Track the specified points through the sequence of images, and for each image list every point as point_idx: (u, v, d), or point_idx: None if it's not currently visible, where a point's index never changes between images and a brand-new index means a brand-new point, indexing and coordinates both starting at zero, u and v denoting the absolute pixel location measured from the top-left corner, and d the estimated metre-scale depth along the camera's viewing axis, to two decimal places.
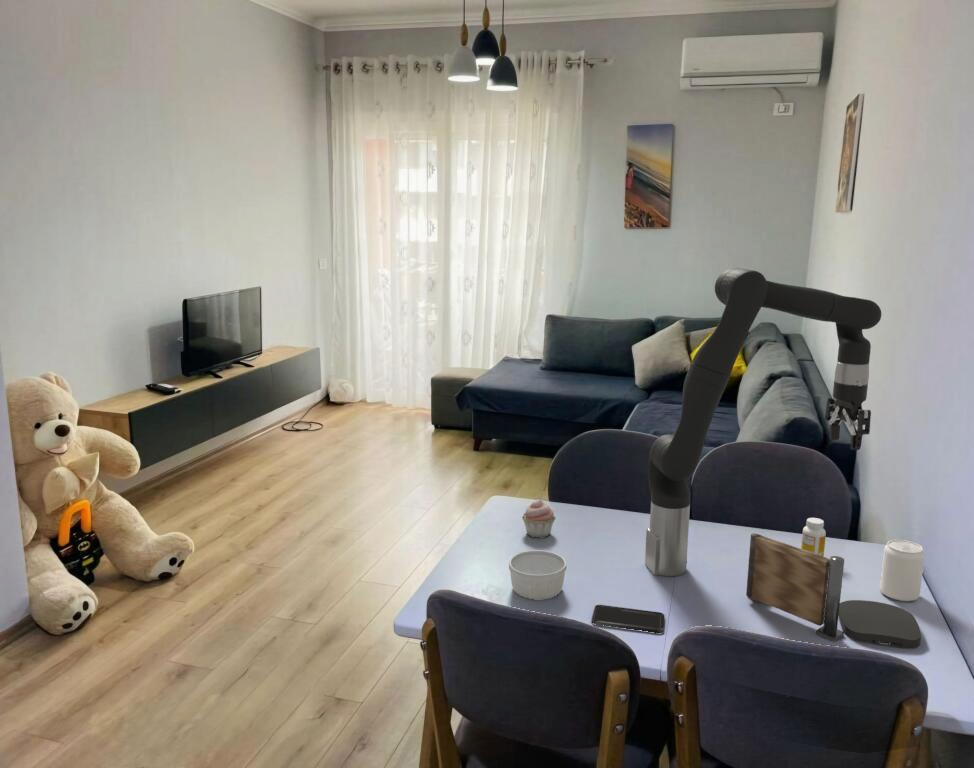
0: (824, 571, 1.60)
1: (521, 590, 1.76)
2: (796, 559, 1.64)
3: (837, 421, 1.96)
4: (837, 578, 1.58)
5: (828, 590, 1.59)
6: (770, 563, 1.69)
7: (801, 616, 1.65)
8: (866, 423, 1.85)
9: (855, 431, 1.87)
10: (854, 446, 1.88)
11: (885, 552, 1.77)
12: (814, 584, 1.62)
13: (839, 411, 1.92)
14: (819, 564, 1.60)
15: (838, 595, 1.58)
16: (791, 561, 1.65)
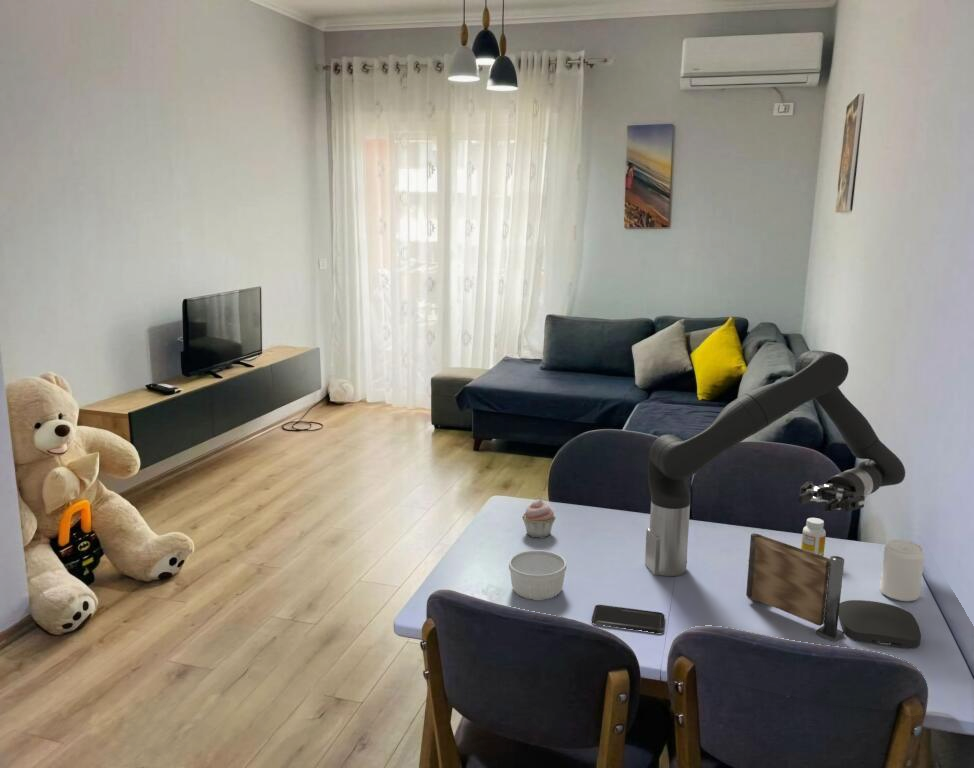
0: (824, 571, 1.60)
1: (521, 590, 1.76)
2: (796, 559, 1.64)
3: (811, 497, 1.79)
4: (837, 578, 1.58)
5: (828, 590, 1.59)
6: (770, 563, 1.69)
7: (801, 616, 1.65)
8: (855, 505, 1.73)
9: (841, 499, 1.74)
10: (831, 504, 1.71)
11: (885, 552, 1.77)
12: (814, 584, 1.62)
13: (830, 487, 1.80)
14: (819, 564, 1.60)
15: (838, 595, 1.58)
16: (791, 561, 1.65)
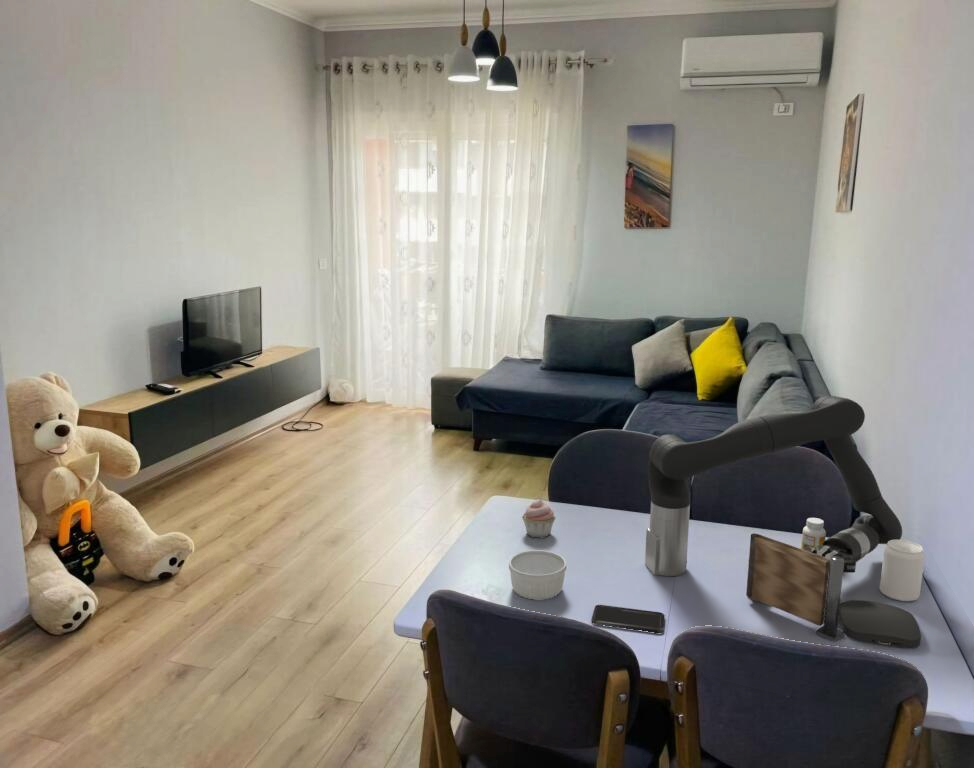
0: (824, 571, 1.60)
1: (521, 590, 1.76)
2: (796, 559, 1.64)
3: None
4: (837, 578, 1.58)
5: (828, 590, 1.59)
6: (770, 563, 1.69)
7: (801, 616, 1.65)
8: None
9: None
10: None
11: (885, 552, 1.77)
12: (814, 584, 1.62)
13: (828, 549, 1.79)
14: (819, 564, 1.60)
15: (838, 595, 1.58)
16: (791, 561, 1.65)
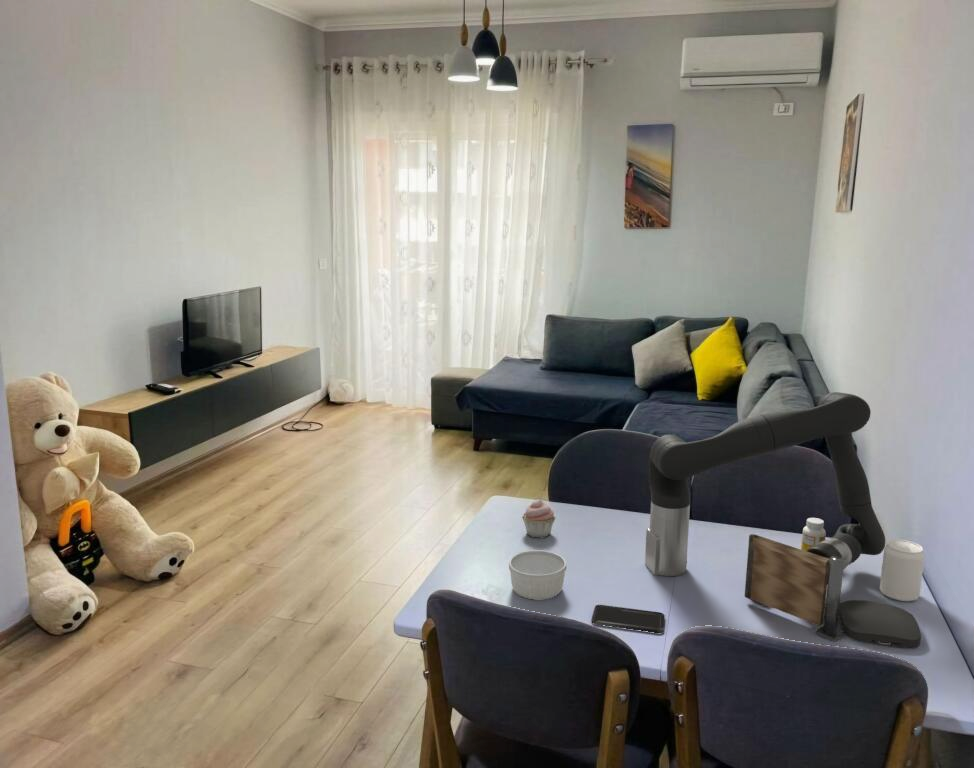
0: (824, 571, 1.60)
1: (521, 590, 1.76)
2: (795, 559, 1.64)
3: None
4: (837, 578, 1.58)
5: (828, 590, 1.59)
6: (769, 564, 1.69)
7: (801, 617, 1.65)
8: None
9: None
10: None
11: (885, 552, 1.77)
12: (814, 584, 1.62)
13: None
14: (819, 564, 1.60)
15: (838, 595, 1.58)
16: (791, 562, 1.65)
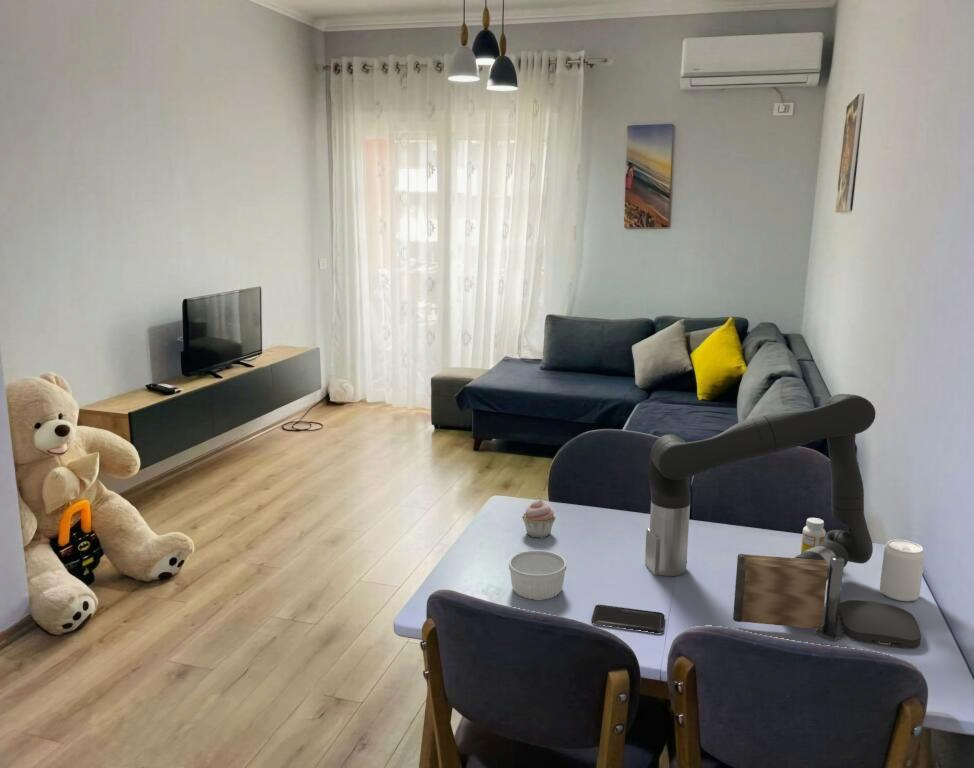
0: (826, 574, 1.58)
1: (521, 590, 1.76)
2: (794, 570, 1.59)
3: None
4: (837, 578, 1.58)
5: (828, 590, 1.59)
6: (763, 581, 1.61)
7: (801, 625, 1.62)
8: None
9: None
10: None
11: (885, 552, 1.77)
12: (815, 590, 1.59)
13: None
14: (821, 569, 1.58)
15: (838, 595, 1.58)
16: (789, 573, 1.60)
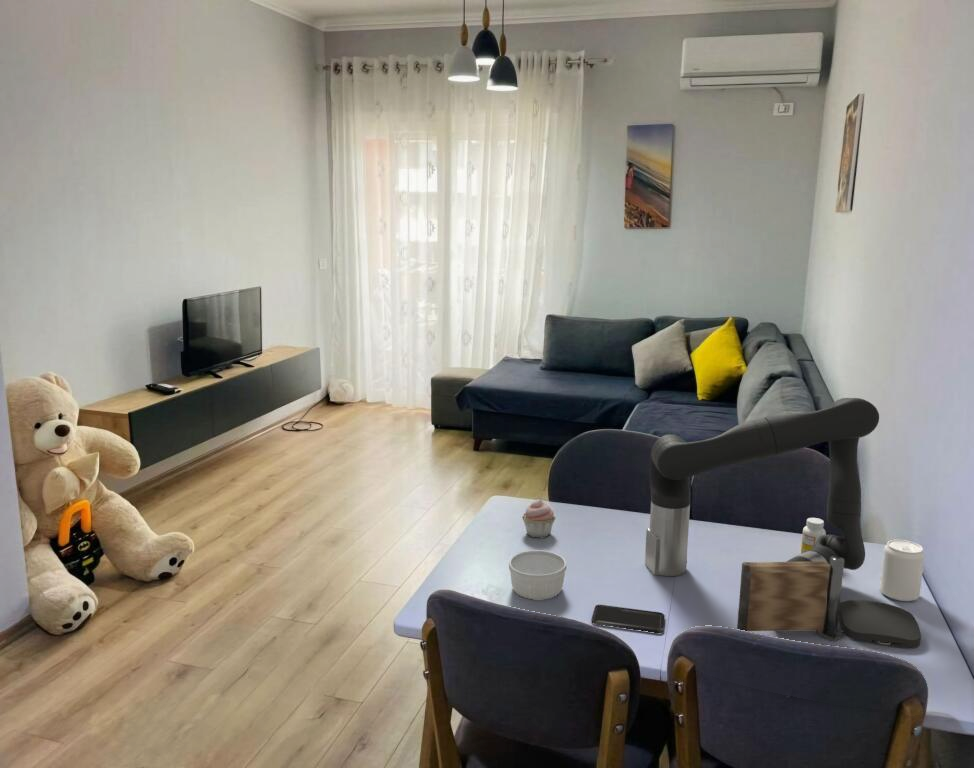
0: (828, 575, 1.58)
1: (521, 590, 1.76)
2: (797, 573, 1.58)
3: None
4: (837, 578, 1.58)
5: (828, 590, 1.59)
6: (768, 588, 1.58)
7: (803, 629, 1.60)
8: None
9: None
10: None
11: (885, 552, 1.77)
12: (817, 592, 1.59)
13: None
14: (823, 570, 1.57)
15: (838, 595, 1.58)
16: (792, 577, 1.58)
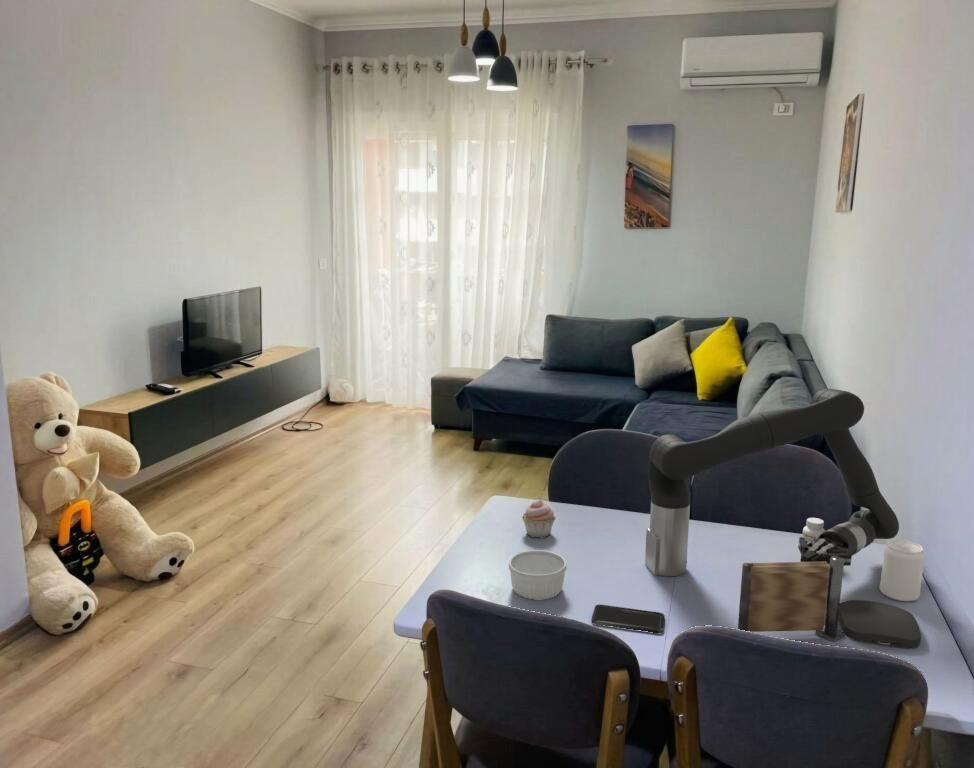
0: (828, 575, 1.58)
1: (521, 590, 1.76)
2: (798, 574, 1.58)
3: None
4: (837, 578, 1.58)
5: (828, 590, 1.59)
6: (768, 588, 1.58)
7: (803, 629, 1.60)
8: None
9: (821, 553, 1.74)
10: (811, 558, 1.72)
11: (885, 552, 1.77)
12: (817, 592, 1.59)
13: (824, 542, 1.79)
14: (823, 570, 1.57)
15: (838, 595, 1.58)
16: (793, 578, 1.58)
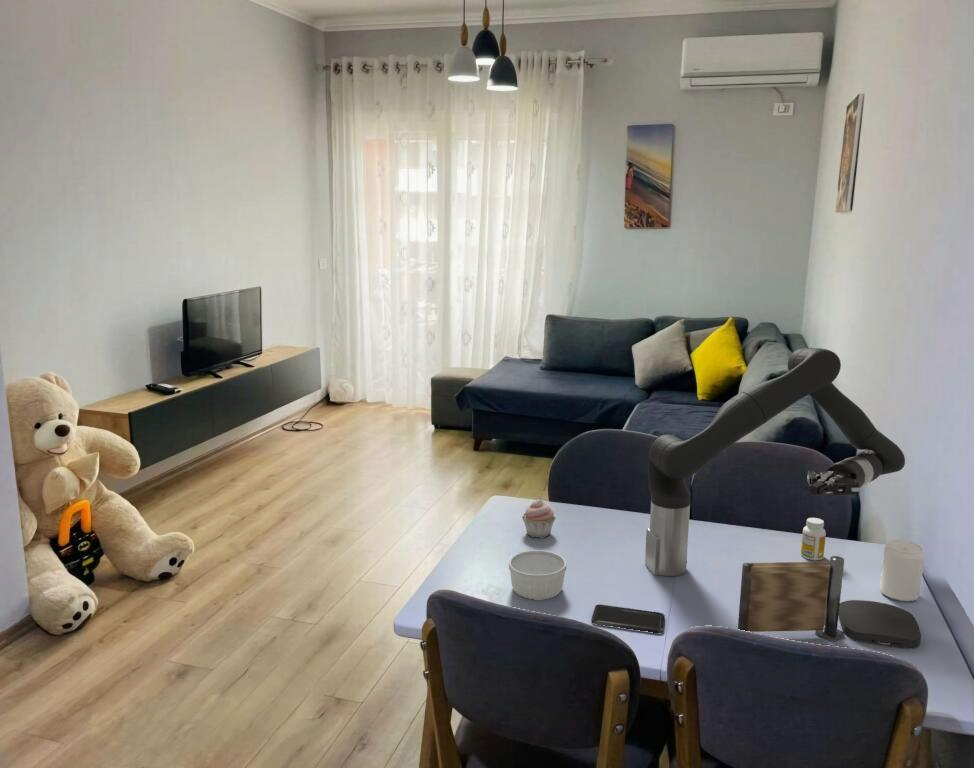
0: (828, 575, 1.58)
1: (521, 590, 1.76)
2: (798, 574, 1.58)
3: None
4: (837, 578, 1.58)
5: (828, 590, 1.59)
6: (768, 588, 1.58)
7: (803, 629, 1.60)
8: (846, 491, 1.77)
9: (829, 483, 1.78)
10: (820, 487, 1.76)
11: (885, 552, 1.77)
12: (817, 592, 1.59)
13: (832, 474, 1.82)
14: (823, 570, 1.57)
15: (838, 595, 1.58)
16: (793, 578, 1.58)
